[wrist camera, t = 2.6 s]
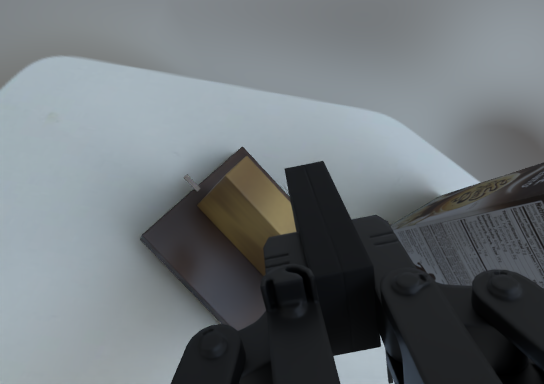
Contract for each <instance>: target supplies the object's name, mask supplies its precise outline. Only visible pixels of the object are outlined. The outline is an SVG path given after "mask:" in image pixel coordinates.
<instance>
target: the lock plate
mask: <svg viewBox="0 0 544 384" xmlns="http://www.w3.org/2000/svg"><path fill="white" fill-rule="evenodd" d="M246 156H248V157H249V158H250V159H251V160H252V161H253V163H254V164H255V165H256V166H257V167H258V168H259V169H260V170H261V171H262V172H263V173H264V174H265V176H266V177H267V178H268V179H269V180H270V181H271V182H272V183H273V184H274V185H275V186H276V187H277V189H278V190H279V191H280V192H281V193H282V194H283V195H284V196H285V197H286V198H287V199H288V200H289V201H290V197H289V196H288V195H287V194H286V193H285V192H284V191H283V190H282V189H281V187H280V186H279V185H278V184H277V183H276V182H275V181H274V180H273V179H272V178H271V177H270V176H269V174H268V173H267V172H266V171H265V170H264V169H263V168H262V167H261V166H260V165H259V164H258V163H257V161H256V160H255V159H254V158H253V157H252V156H251V155H250V154H249V153H248V152H247V151H246V150H245V148H244V147H241V148H240V149H239V150H238V151H237V152H236V153H234V154H233V155H232V156H231V157H230V158H229V159H228V160H226V161H225V162H224V163H223V164H222V165H221V166H220V167H219V168H217V169H216V170H215V171H214V172H213V173H212V174H211V175H209V176H208V177H207V178H206V179H205V180H204V181H203V182H201V183H200V184H199V185H197V184H196V183H195V182H194V181H193V180H192V179H191V178H190V176H189V175H188V174H187V175H186V176H184V179H185V180H186V181H187V182H188V183H189V184H190V185H191V186H192V187H193V189H194V190H192V191H191V192H190V193H189V194H188V195H187V196H186V197H184V198H183V199H182V200H181V201H180V202H179V203H178V204H177V205H175V206H174V207H173V208H172V209H171V210H170V211H169V212H167V213H166V214H165V215H164V216H163V217H162V218H161V219H160V220H158V221H157V222H156V223H155V224H154V225H153V226H152V227H150V228H149V229H148V230H147V231H146V232H145V233H144V234H143V235H142V236H141V238H140V240H141V241H142V242H143V243H144V244H145V245H146V246H147V247H148V248H149V249H150V250H151V251H152V252H153V253H154V254H155V255H156V256H157V257H158V258H159V259H160V260H161V261H162V262H163V263H164V264H165V265H166V267H167V268H168V269H169V270H170V271H171V272H172V273H173V274H174V275H175V276H176V277H177V278H178V279H179V280H180V281H181V282H182V283H183V284H184V285H185V286H186V287H187V288H188V289H189V290H190V291H191V292H192V293H193V294H194V295H195V296H196V297H197V298H198V299H199V301H200V302H201V303H202V304H203V305H204V306H205V307H206V308H207V309H208V310H209V311H210V312H211V313H212V314H213V315H214V316H215V317H216V318H217V319H218V320H219V321H220V322H221V323H222V324H224V325H230V326H232V327H233V328H235V329H236V330H237V331H239V330H241V329H243V328H245V327H247V326H249V325H251V324H253V323H254V322H256V321H257V320H258V319H259V318H260V317H261V316H262V315H263V314H264V312H265V311H266V308H265V304H264V300H263V297H262V293H261V289H260V284H261V279H262V278H263V277H264V276H263V275H262V274H261V273H260V272H259V271H258V270H257V269H256V268H255V266H254V265H253V264H252V263H251V262H250V261H249V260H248V259H247V258H246V257H245V256H244V255H243V254H242V253H241V252H240V251H239V250H238V249H237V247H236V246H235V245H234V244H233V243H232V242H231V241H230V240H229V239H228V238H227V237H226V236H225V235H224V234H223V233H222V232H221V231H220V230H219V228H218V227H217V226H216V225H215V224H214V223H213V222H212V221H211V220H210V219H209V218H208V217H207V216H206V215H205V214H204V213H203V212H202V211H201V209H200V208H199V207H198V206H197V205H198V204H199V203H200V202H201V200H202V199H203V198H204V197H205V196H206V195H207V194H208V193H209V192H210V191H211V190H212V189H213V188H214V186H215V185H216V184H217V183H218V182H219V181H220V180H221V179H222V178H223V177H224V176H225V175H226V174H227V173H228V172H229V171H230V170H231V169H232V168H233V167H234V166H236V165H237V164H238V163H239V162H240V161H241V160H242V159H243V158H244V157H246ZM290 203H291V201H290Z"/></svg>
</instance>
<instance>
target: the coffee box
mask: <svg viewBox="0 0 544 384" xmlns="http://www.w3.org/2000/svg"><path fill="white" fill-rule="evenodd" d="M391 228H392V229H393V231H394V233H395V234H396V236H397V237H398V239H399V241H400V242H401V244H402V245H403V247H404V249H405V250H406V252H407V253H408V255H409V257H410V258H411V260H412V261H413V263H414V264H415V266H416V268H417V269H420V270H422V271H424V272H426V273H428V274H429V275H430V276H431V277H432V278H433V279H434V280H435V281H436V282H438V283H442V284H448V285H465V286H472V282H473V280H474V278H475V276H477V275H478V274H480V273H481V272H483V271H488V270H492V269H499V270H508V271H512V272H517V273H519V274H521V275H523V276H525V277H527V278H529V279H530V280H531V281H533V282H534V283H536V284H537V285H539V286H540V287H542V288H543V289H544V163H541V164H538V165H535V166H532V167H529V168H525V169H522V170H520V171H516V172H513V173H510V174H507V175H504V176H501V177H498V178H495V179H491V180H488V181H485V182H482V183H479V184H476V185H473V186H469V187H466V188H463V189H460V190H457V191H454V192H451V193H448V194H445V195H442V196H440V197H438V198H436V199H435V200H433V201H431V202H430V203H428V204H426V205H425V206H423V207H421V208H420V209H418V210H416V211H415V212H413V213H411V214H409V215H408V216H406V217H404V218H402V219H401V220H399V221H397V222H396V223H394V224H392V225H391Z"/></svg>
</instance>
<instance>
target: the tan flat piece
mask: <svg viewBox="0 0 544 384" xmlns="http://www.w3.org/2000/svg"><path fill="white" fill-rule="evenodd" d="M197 206H198V207H199V208H200V209H201V211H202V212H203V213H204V214H205V215H206V216H207V217H208V218H209V219H210V220H211V221H212V222H213V223H214V224H215V225H216V226H217V227H218V228H219V230H220V231H221V232H222V233H223V234H224V235H225V236H226V237H227V238H228V239H229V240H230V241H231V242H232V243H233V244H234V245H235V246H236V247H237V249H238V250H239V251H240V252H241V253H242V254H243V255H244V256H245V257H246V258H247V259H248V260H249V261H250V262H251V263H252V264H253V265H254V266H255V268H256V269H257V270H258V271H259V272H260V273H261V274H262V275H263V276H265V274H266V272H265V261H264V251H263V247H264V245H265V243H266V241H267V239H268V238H269V237H272V236H277V235H282V234H288V233H293V232H296V227H295V222H294V217H293V211H292V206H291V203H290V201H289V200H288V199H287V198H286V197H285V196H284V195H283V194H282V193H281V192H280V191H279V190H278V189H277V187H276V186H275V185H274V184H273V183H272V182H271V181H270V180H269V179H268V178H267V177H266V176H265V174H264V173H263V172H262V171H261V170H260V169H259V168H258V167H257V166H256V165H255V164H254V163H253V161H252V160H251V159H250V158H249V157H248V156H246V157H244V158H243V159H242V160H241V161H240V162H239V163H238V164H237V165H236V166H234V167H233V168H232V169H231V170H230V171H229V172H228V173H227V174H226V175H225V176H224V177H223V178H222V179H221V180H220V181H219V182H218V183H217V184H216V185H215V186H214V188H213V189H212V190H211V191H210V192H209V193H208V194H207V195H206V196H205V197H204V198H203V199H202V200H201V202H200V203H199V204H198V205H197Z"/></svg>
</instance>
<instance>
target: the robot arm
mask: <svg viewBox="0 0 544 384" xmlns="http://www.w3.org/2000/svg"><path fill="white" fill-rule="evenodd" d="M285 174H286V180H287V185H288V190H289V195H290V201H291V206H292V211H293V217H294V222H295V227H296V232H293V233H288V234H282V235H277V236H272V237H269V238H268V239H267V241H266V243H265V245H264V247H263V251H264V261H265V272H266V274H265V276H264V277H263V278H262V279H261V284H260V289H261V293H262V297H263V300H264V304H265V308H266V311H265V312H264V314H263V315H262V316H261V317H260V318H259V319H258V320H257V321H256V322H254V323H253V324H251V325H249V326H247V327H245V328H243V329H241V330H239V331H237V330H236V329H235V328H233V327H232V326H230V325H224V324H218V325H212V326H209V327H207V328H205V329H202V330H200V331H199V332H198V333H197V334H196V335H194V336H193V337H192V338H191V340H190V342H189V343H188V345H187V346H186V349H185V351H184V354H183V356H182V358H181V361H180V363H179V365H178V368H177V370H176V373H175V375H174V377H173V380H172V382H171V384H340V381H339V377H338V373H337V369H336V365H335V361H334V357H333V356H335V355H340V354H345V353H351V352H356V351H361V350H366V349H371V348H377V347H381V342H380V336H381V338H382V341H383V343H384V346H385V350H386V361H387V373H388V381H389V384H390V383H393V380H394V383H395V384H544V289H543V288H542V287H540V286H539V285H537V284H536V283H534V282H533V281H531V280H530V279H529V278H527V277H525V276H523V275H521V274H519V273H517V272H512V271H508V270H499V269H492V270H488V271H483V272H481V273H480V274H478V275H477V276H475V278H474V280H473V282H472V286H465V285H448V284H442V283H438V282H436V281H435V280H434V279H433V278H432V277H431V276H430V275H429V274H428V273H426V272H424V271H422V270H420V269H417V268H416V266H415V264H414V263H413V261H412V260H411V258H410V257H409V255H408V253H407V252H406V250H405V249H404V247H403V245H402V244H401V242H400V241H399V239H398V237H397V236H396V234H395V233H394V231H393V229H392V228H391V226H390V225H389V223H388V222H387V221H386V220H384V219H382V218H381V217H379V216H377V215H373V216H368V217H363V218H358V219H352V220H351V218H350V216H349V214H348V212H347V210H346V207H345V205H344V203H343V201H342V199H341V197H340V195H339V193H338V191H337V189H336V187H335V185H334V182H333V180H332V178H331V176H330V174H329V172H328V170H327V168H326V166H325V164H324V162H323V161H321V162H316V163H311V164H306V165H301V166H296V167H291V168H286V169H285Z"/></svg>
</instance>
